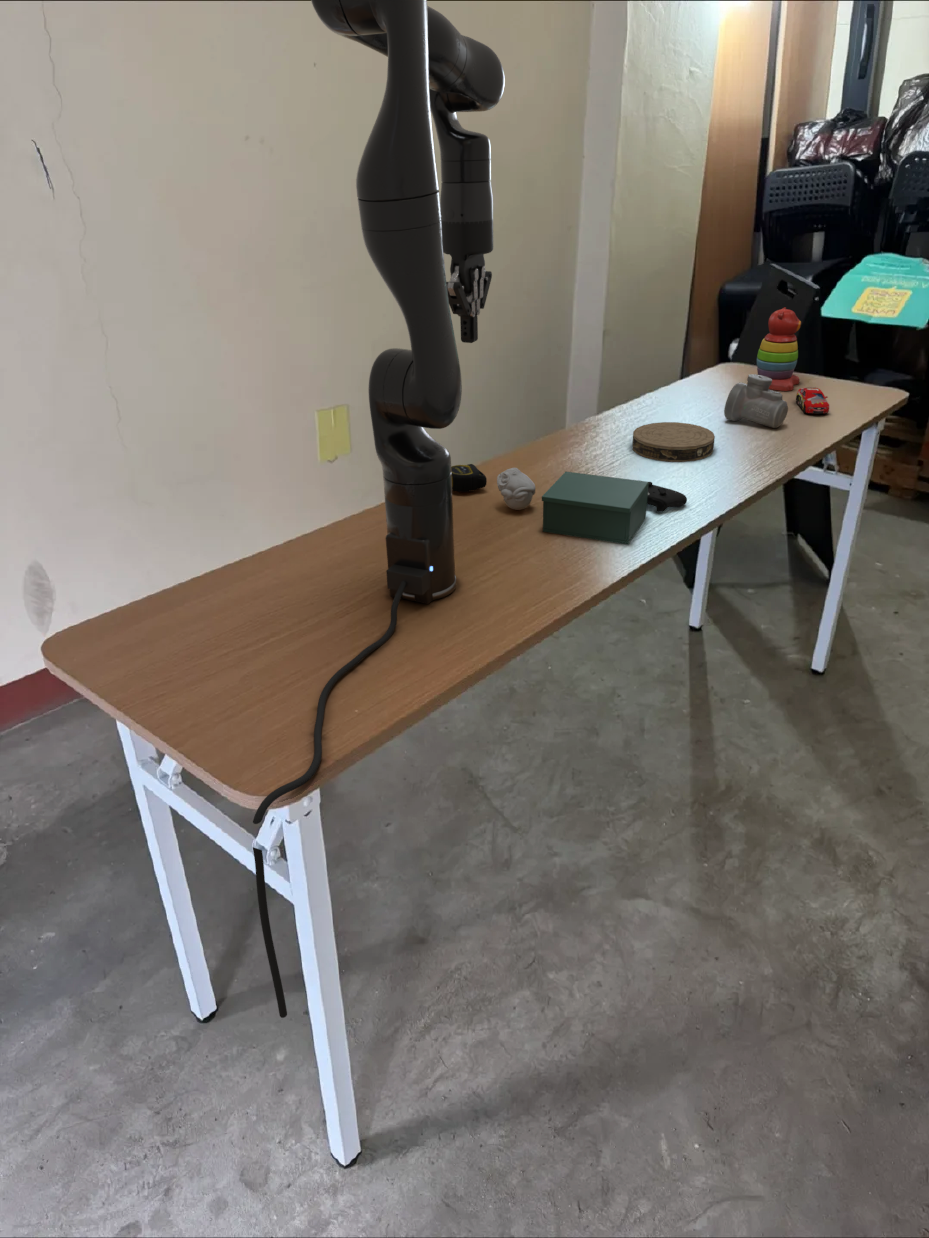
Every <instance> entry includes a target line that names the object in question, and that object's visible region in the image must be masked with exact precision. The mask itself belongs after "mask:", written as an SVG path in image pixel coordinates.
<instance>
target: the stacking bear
mask: <svg viewBox="0 0 929 1238" xmlns="http://www.w3.org/2000/svg"><path fill="white" fill-rule="evenodd" d="M801 327H802V321H801V320H800V319H799V317H798V316H797V315H796V312H795V311H793V310H791V309H787V307H782V308H781V309H777V310H775V311H774V312H772V313H771V314H770V316H769V318H768V331H769V333H767V334H766V335H764V338H763V339H762V340H761V343H760V345H759V349H758V351H757V356H756V367H757V368H756V371H757V375H762V376H766V377H769V378H771V379H772V383H771V385H770V387H769V390H772V391H778V392H790V391H792V390H794V386H796V385H798V384H800V377H799V376H798V375H796V374H794V372H795V368H796V366H797V364H798V360H799V359H798V358H799V349H798V348H799V346H798V337H797V335H796V333H797V332H798V331H799V330H800V328H801Z"/></svg>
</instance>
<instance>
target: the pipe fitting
mask: <svg viewBox="0 0 929 1238" xmlns="http://www.w3.org/2000/svg"><path fill="white" fill-rule="evenodd" d="M746 381H747V383H746V382H745V383H744V382H737V383H735V384H734V386H733V387H732V388H731V389H730V391H729V393H728V396H727V398H726V400H725V404H724V409H723V411H724V412H723V415H724V417H725V419H727V420H730V421H733V422H737V421H740V420H741V419H744V420H746V421H750V422H753V423H755V424H758V425H762V426H766V427H768V428H771V429H772V428H773V429H777V428H779V427H780V426H781V425H782V424H783V423H784V421H785V420H786V418H787V416H788V413H789V405H788V402H787V401H786V400H784V399H783V394H782V393H781V391H778V390H772V389H769V387H770V385H771V383H772V379H771V378H769V377H766V376H762V375H758V374H756V373H749V374H748V375H747V379H746Z"/></svg>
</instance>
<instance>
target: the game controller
mask: <svg viewBox="0 0 929 1238" xmlns="http://www.w3.org/2000/svg"><path fill="white" fill-rule="evenodd" d="M648 482H649V485H648V497H647V506H652V507H655V508H656V509H655V510H656V513H663V512H665V511H666V510H667V509H669V508H680V507H684V506H685V505H686V504H687V503H688V498H687V496H686V494H684V493H682V492H679V491H677V490H674V489H671V488H667V487H665V486H664V487H663V486H659V485H657V484H653V482H652V481H648Z"/></svg>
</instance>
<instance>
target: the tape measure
mask: <svg viewBox="0 0 929 1238" xmlns="http://www.w3.org/2000/svg"><path fill="white" fill-rule="evenodd" d="M451 473H452V491H453V492H457V493H469V492H473V491H478V490H480V489H483V488H485V487H486V486H487V483H488V478H487V476H486V475H485V474H484V473H483V471H481V470H479V468H478V467H477V466H476V465H475V464H473V463H469V464H468V463H467V464H456V465H451Z"/></svg>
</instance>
